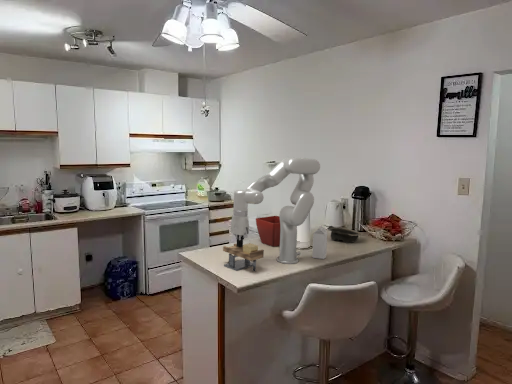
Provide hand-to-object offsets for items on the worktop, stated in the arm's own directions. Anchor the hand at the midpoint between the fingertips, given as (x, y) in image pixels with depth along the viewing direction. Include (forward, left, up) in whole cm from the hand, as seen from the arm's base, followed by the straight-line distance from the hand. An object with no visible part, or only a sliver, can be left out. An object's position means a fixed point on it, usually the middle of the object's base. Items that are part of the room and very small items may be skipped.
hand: (239, 246), depth 193 cm
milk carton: (-47, +20, -11) cm, 52 cm away
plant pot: (-49, -18, -11) cm, 53 cm away
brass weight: (+1, +9, -2) cm, 9 cm away
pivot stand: (0, +2, -10) cm, 11 cm away
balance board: (0, +3, -4) cm, 4 cm away
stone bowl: (-96, +8, -11) cm, 97 cm away
